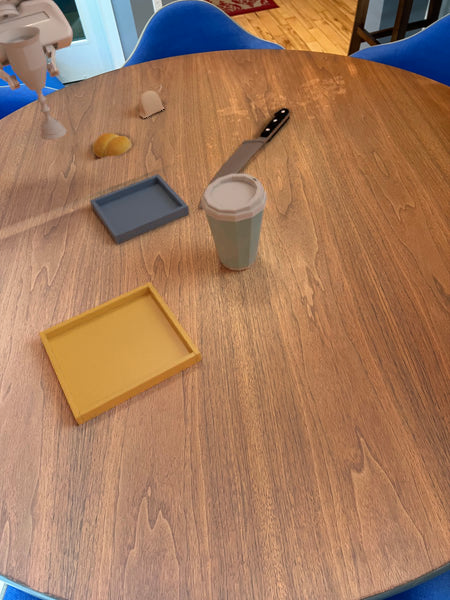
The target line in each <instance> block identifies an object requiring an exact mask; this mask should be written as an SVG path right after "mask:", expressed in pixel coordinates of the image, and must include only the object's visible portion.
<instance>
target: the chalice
mask: <svg viewBox="0 0 450 600" xmlns="http://www.w3.org/2000/svg"><path fill="white" fill-rule="evenodd" d="M39 36H40V30H39V28H36V27H19V28H15V29H11V30H8V31H6V32H4V33H2V34H0V44H1V45H2V46H3V47H4V49H5V52H6V55H7V57H8V60H9V62H10V65H9V66H10V67H11V70H12V71H13V72H14V75H15V76H16V77H17V78H18V79H19V80H20V81H21V82H22V83H23V84H24V85H25V86H26V87H27V88H28V89H29V90H30V91H35V93H36V96H37V103H39V105H40V106H41V109H40V112H41V113H43V115H44V118H45V119H44V120H43V121H42V123H41V125H40V127H41V129H40V132H41V133H40V137H41V139H43V140H46V141H53V140H54V141H55V140H58V139H61V138H62V137H64V136H65V135H66V134H67V132H68V131H67V130H68V129H67V128H66V127H65V126H64V125H63V123H61V121H60V120H58V119H56V118H53V117H52V116H51V113H50V110H51V107H50V106H48V105H47V97H45V96H44V94H43V91H42V89H44V88H45V87H46V82H47V73H48V70H47V64H48V61H47V60H48V59H47V56H46V54H44V51H43V48H42V45H41V42H40V39H39ZM21 39H22V40H26V41H22V42H17V43H13V42H15V41H16V40H21Z"/></svg>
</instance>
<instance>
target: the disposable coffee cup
mask: <svg viewBox="0 0 450 600" xmlns="http://www.w3.org/2000/svg"><path fill="white" fill-rule="evenodd" d="M267 201H268V195H267V192H266V190H265V189H264V186H263V184H262V182H261V181H260V179H258V178H257V177H256V176H254V175H251V174H248V173H237V174H229V175H226V176H223V177H220V178H218V179H216V180H215V181H214V182H212V183H211V184H210V185H209V184H208V185H207V187H206V188H205V189H204V191H203V194H202V196H201V198H200V202H201V205H202V209H203V212H204V214H205V217H206V220H207V223H208V226H209V229H210V232H211V235H212V239H213V242H214V246H215V248H216V252H217V254H218V257H219V260H220V262H221V264H222V265H223V266H224V267H225V268H227V270H230V271H237V272H239V271H243V270H247V269H249V268H250V267H252V266H253V265H254V264H255V262H256V260H257V257H258V254H259V253H258V252H259V246H260V245H259V244H260V238H261V233H262V225H263V219H264V212H265V208H266V204H267Z"/></svg>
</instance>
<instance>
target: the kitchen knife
mask: <svg viewBox="0 0 450 600" xmlns="http://www.w3.org/2000/svg"><path fill="white" fill-rule="evenodd" d="M290 113H291V112H290V109H288V108H287V107H283V108H281V109H279V110H278V111H275V112H274V113H273V118H272V119H271V120H270V121H269V122H268V123H267V125H266V126H265V127H264V129H263V130H262V132H261V133H260V135H259V136H258V137H257V138H253V139H244V140H243V141H242V142H241V144H240V146H238V148H237V149H236V150H235V151H234V152H233V153H232V154H231V155H230V156H229V158H228V159H227V160H226V161H225V162H224V163H223V165H221V166H220V168H219V170H218V171H217V172H216V173H215V174H214V176H213V178H212V179H211V181H210V182H209V183H208V185H210V184H211V183H212V182H214V181H215V180H216V179H218V178H220V177H223V176H226V175H229V174H239V173H240V171H241V170H242V169H243V168H244V167H245V166H246V164H247V163H248V162H249V161H250V160H251V159H252V158H253V156H254V155H255V154H256V153H257V152H258V151H259V150H260V148H261V147H262V146H264V145H265V144H266V143H267V142H271V141H272V139H273V138H274V137H275V136H276V135H277V133H278V132H279V131H280V130H281V129H282V128H283V127H284V126H285V125H286V123H287V122H288V121H289V120H290V118H291V114H290ZM201 209H203V207H202V205H201V201H200V202H199V207H198V210H201Z"/></svg>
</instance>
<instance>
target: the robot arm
mask: <svg viewBox="0 0 450 600" xmlns="http://www.w3.org/2000/svg"><path fill="white" fill-rule="evenodd" d="M19 27H36V28H39V30H40V36H39V39H40V42H41V45H42V48H43V51H44V54H45V57H46V59H47V60H48V59H50V63H47V73H48V74H49V76H50V78H54V77H57V76H59V75H60V69H59V67H58V66H57V64H56V51H59V50H63V49H65V48H68V47H70V46H71V45H72V42H73V37H74V31H73V28H72V27H71V25H70V22H69V21H68V20H67V18H66V16H65V15H64V13H63V12H62V10H61V9H60V7H59V6H58V4H57V3H55V1H54V0H0V34H2V33H4V32H6V31H8V30H11V29H15V28H19ZM22 41H26V40H22V39H21V40H16V41H15V42H13V43H17V42H22ZM7 66H11V65H10V62H9V60H8V57H7V55H6V52H5V49H4V47H3V46H2V45H1V44H0V79H1V80H3V81H4V82H6V83H7V84H8V86H9V88H10V90H11V91H15V90H17V89H21V83H20V81H19V80H18V77H17V75H16V74H12V75H10V74H9V73H8V72H6V71H5V70H4V67H7Z"/></svg>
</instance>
